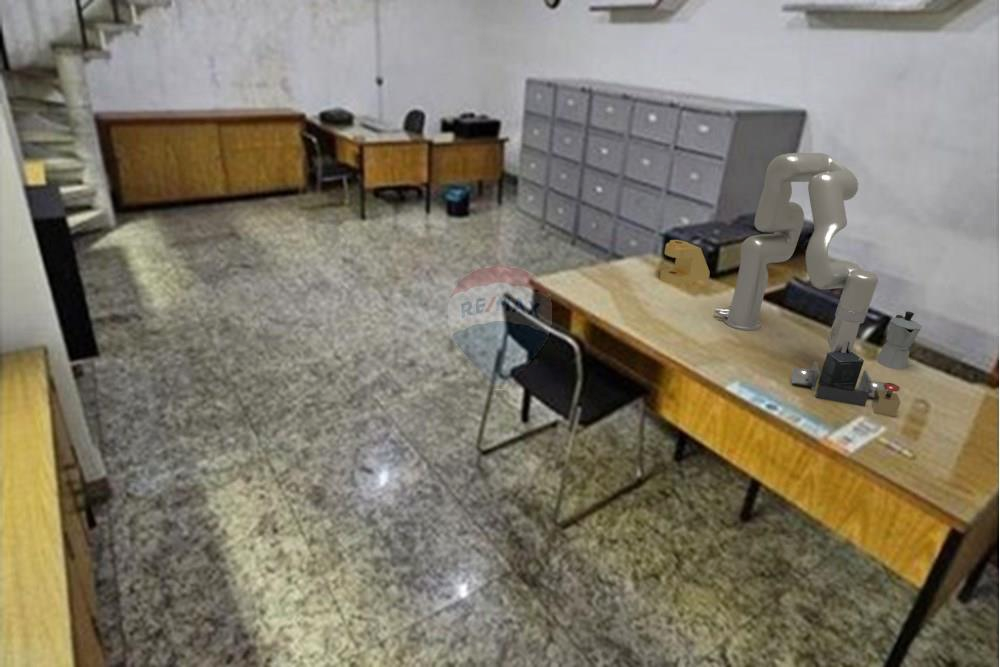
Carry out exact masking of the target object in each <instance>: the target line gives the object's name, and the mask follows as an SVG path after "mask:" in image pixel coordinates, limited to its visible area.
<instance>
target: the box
mask: <svg viewBox="0 0 1000 667" xmlns="http://www.w3.org/2000/svg"><path fill="white" fill-rule="evenodd" d="M864 361H865V360H864V359H863V358H861V357H860V356H859V355H857V354H856V353H855V352H853V351H851V353H850V354H849V352H846V353H842V352H831V351H830V352H827V353H826V357H825V360H824V363H823V366H822V370H821V372H820V376H819V378H818V381H817V383H818V385H819V383H821V384H827V385H832V386H838V387H843V388H849V389H854V390H856V387H857V383H858V380H859V376H860V375H861V372H862V367H863V365H864Z"/></svg>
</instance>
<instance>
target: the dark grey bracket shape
mask: <svg viewBox="0 0 1000 667" xmlns="http://www.w3.org/2000/svg"><path fill="white" fill-rule="evenodd" d="M820 374H821V372H820V368H819V366H818V362H817V361H813V364H812V367H811V369H809V368H802V367H797V366H794V367H793V369H792V371H791V377H790V383H791V384H792V385H798V386H799V385H800V386H804V387H809V388H810V390H811V392H814V391H815V388H816V385H817V383H818V380H819V377H820V376H819V375H820ZM885 383H886V382H883V381H882V382H880V381H875V380H872V379H871V376H870V375H869V373H868V371H867V370H865V369H864V370H863V372H862V375H861V377H860V380H859V383H858V386H857V389H849V388H843V387H838V386H832V385H827V384H821V383H819V384H818V385H817V388H816V392H815V394H814V395H815V396H814V397H815V398H816V399H821V400H827V401H831V402H832V401H833V402H837V403H842V404H843V403H844V404H849V405H854V406H855V405H856V406H860V407H861V406H862V407H866V404H867V401H868V398H870V399H873V398H874V395H875V393H876V390H877V389H878V390H882V391H888V389H886V388H885V387H884V384H885Z"/></svg>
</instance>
